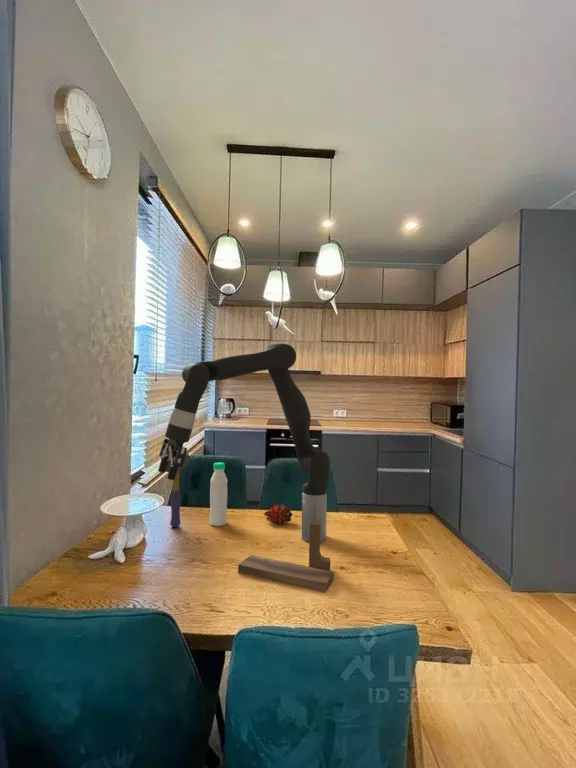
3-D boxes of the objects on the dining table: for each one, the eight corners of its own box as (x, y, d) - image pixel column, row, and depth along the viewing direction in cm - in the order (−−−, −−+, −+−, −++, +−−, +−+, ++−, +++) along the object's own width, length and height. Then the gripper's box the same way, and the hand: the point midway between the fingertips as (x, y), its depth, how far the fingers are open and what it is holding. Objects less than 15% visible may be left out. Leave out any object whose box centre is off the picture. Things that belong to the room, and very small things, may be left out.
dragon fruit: (293, 529, 169) (265, 531, 172) (295, 512, 176) (268, 514, 179) (289, 516, 165) (260, 518, 167) (291, 499, 172) (263, 501, 174)
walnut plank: (250, 562, 133) (250, 554, 133) (334, 580, 122) (334, 571, 122) (238, 572, 126) (238, 564, 126) (325, 592, 115) (325, 583, 115)
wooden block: (308, 572, 127) (309, 523, 127) (308, 568, 130) (309, 520, 130) (330, 573, 126) (331, 524, 126) (329, 569, 130) (330, 521, 130)
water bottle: (225, 526, 167) (226, 464, 167) (207, 526, 167) (208, 464, 167) (228, 521, 174) (229, 461, 174) (211, 520, 174) (212, 461, 174)
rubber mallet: (173, 521, 172) (174, 449, 172) (190, 522, 171) (191, 450, 171) (159, 531, 160) (160, 454, 160) (177, 533, 158) (178, 455, 159)
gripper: (200, 431, 126) (185, 483, 125) (183, 423, 138) (169, 471, 136) (178, 426, 122) (162, 480, 120) (162, 418, 133) (147, 468, 132)
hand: (165, 475), depth 128 cm, fingers open, 8 cm apart
